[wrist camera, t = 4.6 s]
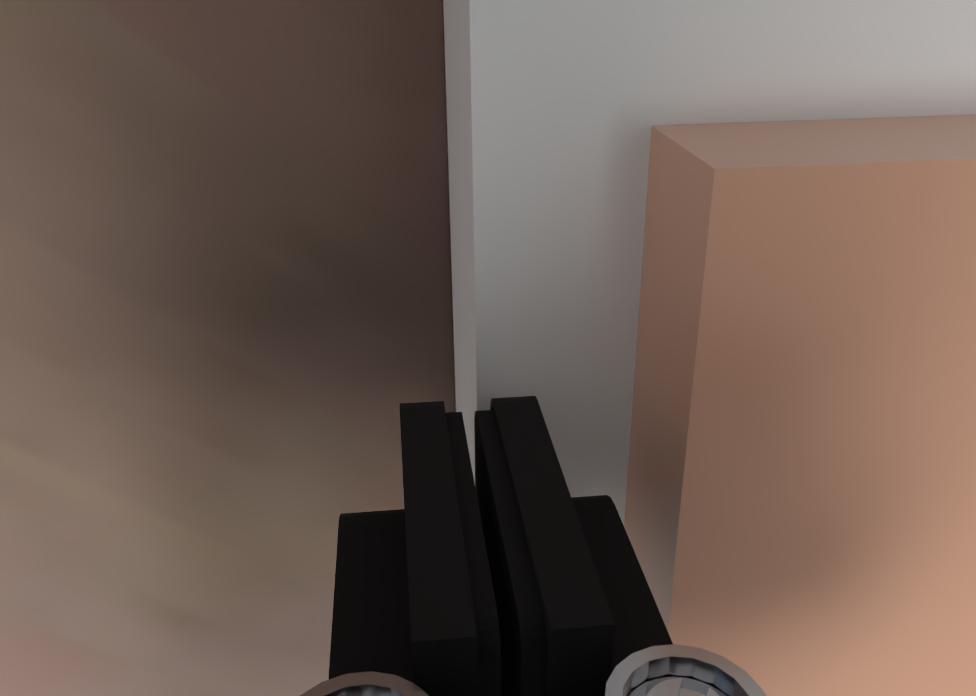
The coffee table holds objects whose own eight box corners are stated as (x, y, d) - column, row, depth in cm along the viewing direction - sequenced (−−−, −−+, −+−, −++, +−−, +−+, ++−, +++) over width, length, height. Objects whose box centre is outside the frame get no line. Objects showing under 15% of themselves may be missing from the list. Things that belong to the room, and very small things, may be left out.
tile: (651, 126, 10) (714, 168, 8) (1149, 108, 10) (1314, 144, 8) (611, 712, 14) (647, 832, 12) (974, 675, 14) (1061, 783, 12)
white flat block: (428, -495, 10) (455, -728, 7) (1340, -461, 11) (1783, -644, 8) (467, 787, 20) (488, 977, 16) (965, 733, 21) (1088, 899, 17)
